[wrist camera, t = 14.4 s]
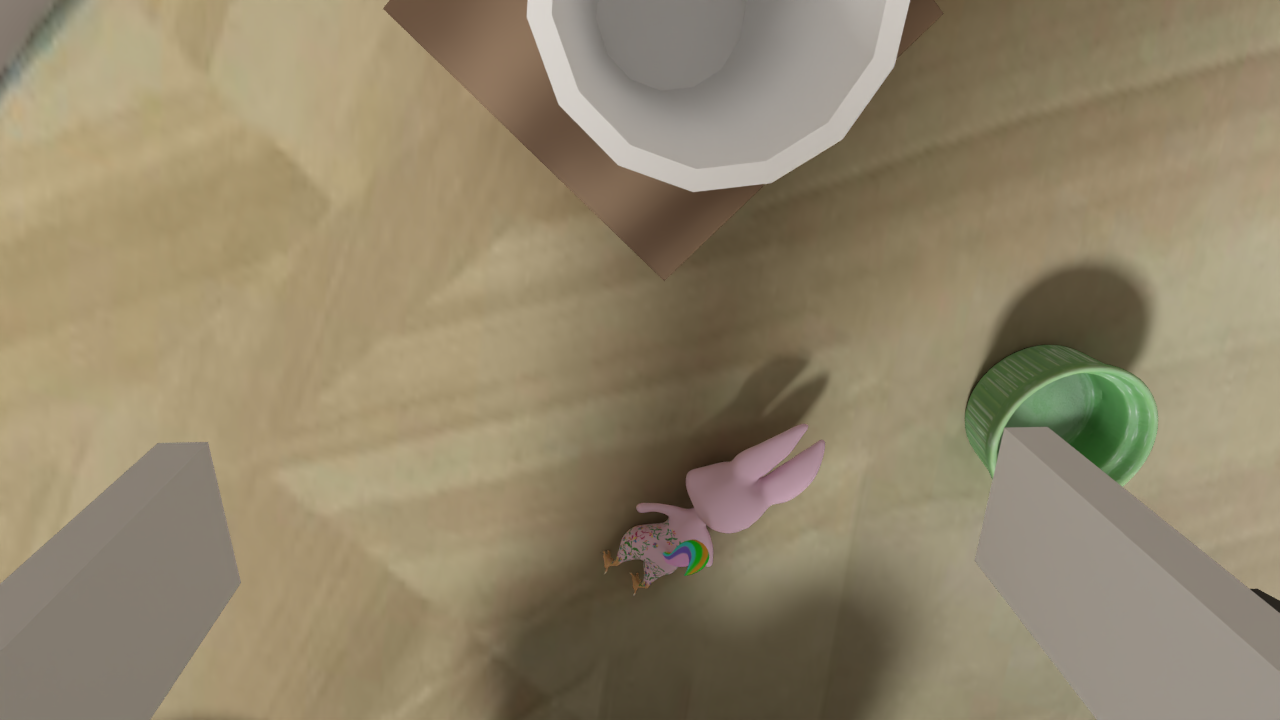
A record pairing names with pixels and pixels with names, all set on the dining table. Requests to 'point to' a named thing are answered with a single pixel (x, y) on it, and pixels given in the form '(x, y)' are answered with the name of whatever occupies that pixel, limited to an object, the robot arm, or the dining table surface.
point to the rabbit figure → (718, 506)
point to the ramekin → (1065, 408)
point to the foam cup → (716, 79)
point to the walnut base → (527, 106)
